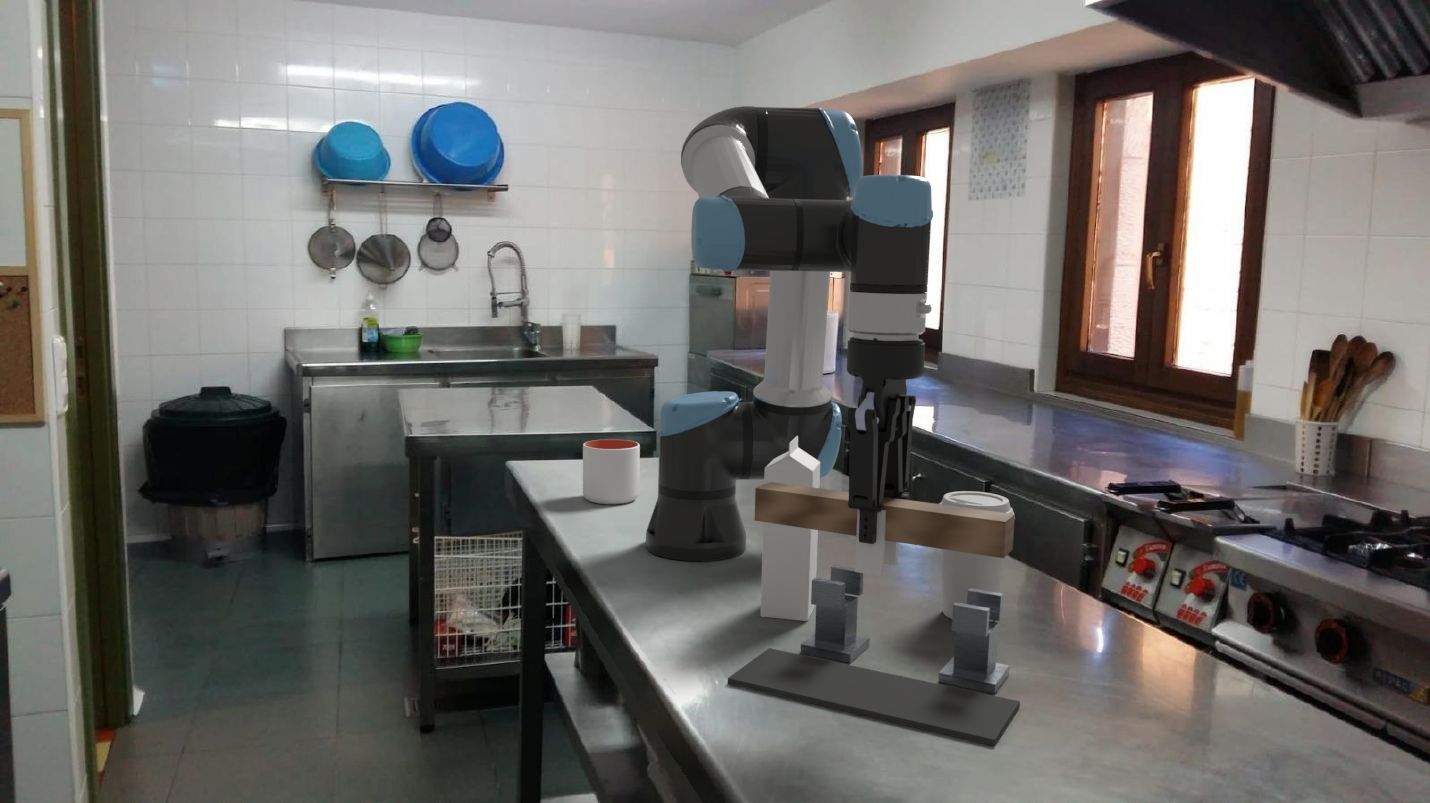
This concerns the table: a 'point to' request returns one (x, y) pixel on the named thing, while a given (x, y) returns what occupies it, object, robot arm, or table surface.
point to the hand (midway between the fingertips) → (876, 567)
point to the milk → (789, 544)
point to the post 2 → (976, 643)
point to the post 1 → (836, 616)
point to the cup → (611, 471)
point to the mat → (879, 695)
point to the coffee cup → (970, 554)
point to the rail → (889, 519)
